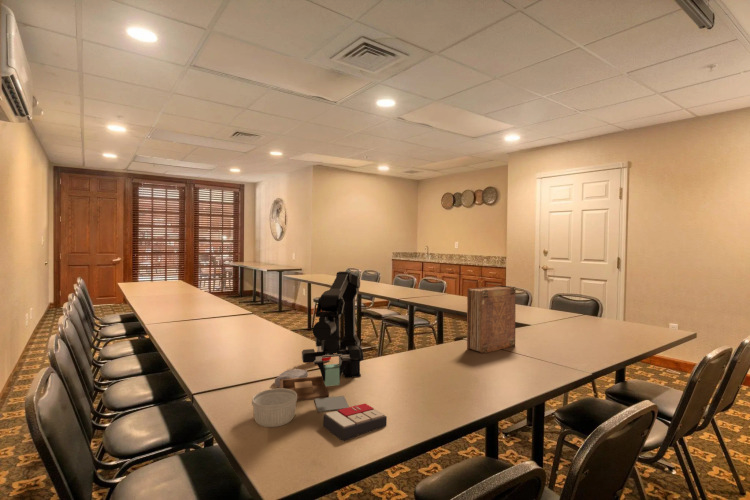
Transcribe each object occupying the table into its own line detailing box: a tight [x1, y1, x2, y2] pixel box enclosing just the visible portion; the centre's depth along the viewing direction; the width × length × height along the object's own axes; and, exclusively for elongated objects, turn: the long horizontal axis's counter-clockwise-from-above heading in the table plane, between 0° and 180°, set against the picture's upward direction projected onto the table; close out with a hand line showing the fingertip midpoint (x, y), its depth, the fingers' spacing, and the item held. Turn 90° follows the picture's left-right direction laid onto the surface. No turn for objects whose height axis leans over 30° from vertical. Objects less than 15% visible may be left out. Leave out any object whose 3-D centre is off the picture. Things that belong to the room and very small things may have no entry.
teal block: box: [324, 363, 341, 387], centre depth 127 cm, size 4×4×6 cm
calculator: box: [322, 403, 388, 442], centre depth 113 cm, size 11×4×15 cm
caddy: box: [279, 375, 330, 402], centre depth 137 cm, size 16×12×4 cm
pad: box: [314, 395, 350, 413], centre depth 128 cm, size 10×10×1 cm
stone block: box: [274, 368, 309, 388], centre depth 149 cm, size 12×5×10 cm
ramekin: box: [251, 387, 298, 428], centre depth 117 cm, size 13×13×7 cm
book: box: [466, 285, 517, 354], centre depth 195 cm, size 25×9×30 cm, turn 123°
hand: (331, 380), depth 128 cm, fingers closed on teal block, 4 cm apart
